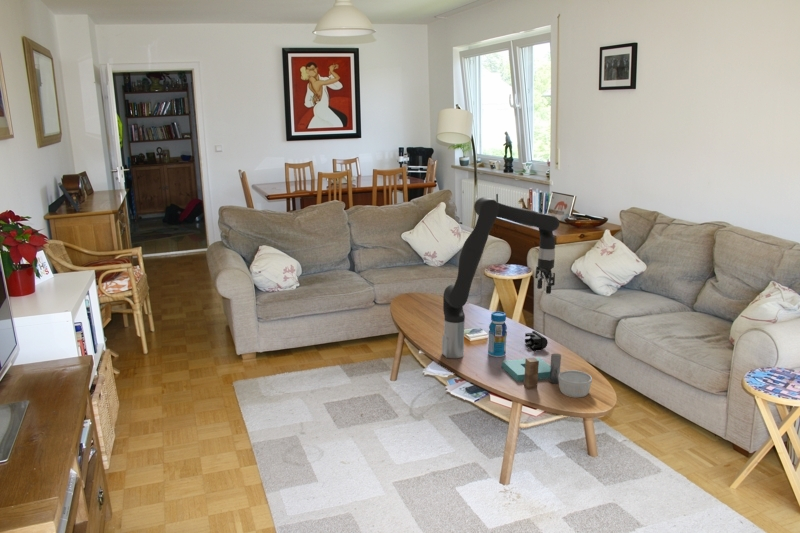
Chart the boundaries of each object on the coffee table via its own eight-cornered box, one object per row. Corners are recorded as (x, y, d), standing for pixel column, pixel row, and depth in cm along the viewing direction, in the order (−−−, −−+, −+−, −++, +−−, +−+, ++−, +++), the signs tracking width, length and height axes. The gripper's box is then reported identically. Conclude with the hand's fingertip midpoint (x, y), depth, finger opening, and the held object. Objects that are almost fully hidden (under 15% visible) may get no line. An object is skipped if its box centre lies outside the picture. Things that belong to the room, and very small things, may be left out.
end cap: (547, 350, 318) (548, 336, 316) (533, 351, 316) (534, 338, 314) (537, 343, 327) (538, 330, 325) (524, 344, 325) (524, 331, 323)
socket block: (517, 381, 282) (517, 375, 281) (502, 367, 297) (502, 360, 296) (556, 377, 286) (556, 370, 286) (538, 363, 301) (539, 357, 301)
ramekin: (555, 395, 269) (556, 379, 267) (559, 383, 281) (560, 367, 279) (589, 401, 264) (590, 385, 263) (592, 388, 276) (593, 372, 274)
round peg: (552, 384, 280) (554, 357, 277) (547, 380, 283) (549, 353, 280) (560, 383, 281) (562, 356, 278) (556, 379, 284) (558, 353, 281)
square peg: (528, 389, 275) (529, 362, 272) (523, 385, 278) (525, 358, 275) (537, 388, 276) (538, 361, 273) (532, 384, 279) (534, 357, 276)
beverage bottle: (484, 354, 311) (485, 313, 307) (494, 349, 317) (496, 309, 313) (499, 359, 306) (501, 317, 301) (509, 354, 312) (511, 313, 307)
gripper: (531, 254, 315) (529, 287, 319) (546, 261, 301) (544, 295, 305) (546, 253, 317) (543, 286, 321) (561, 260, 304) (558, 294, 307)
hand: (543, 291), depth 313 cm, fingers open, 8 cm apart
